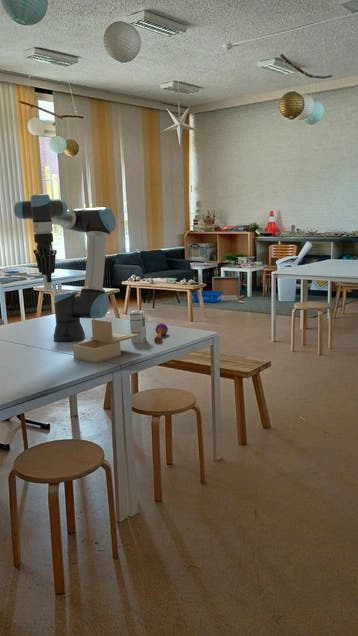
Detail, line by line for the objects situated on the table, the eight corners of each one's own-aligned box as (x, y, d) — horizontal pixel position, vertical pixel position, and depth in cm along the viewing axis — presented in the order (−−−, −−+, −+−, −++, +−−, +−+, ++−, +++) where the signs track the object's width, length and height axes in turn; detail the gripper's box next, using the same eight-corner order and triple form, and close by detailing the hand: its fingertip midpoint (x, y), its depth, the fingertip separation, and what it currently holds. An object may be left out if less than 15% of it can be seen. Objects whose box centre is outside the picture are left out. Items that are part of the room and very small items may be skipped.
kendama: (149, 335, 262) (154, 323, 281) (153, 347, 264) (157, 334, 283) (162, 332, 261) (166, 320, 281) (165, 344, 263) (169, 332, 282)
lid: (90, 339, 248) (89, 319, 246) (115, 332, 259) (114, 313, 257) (113, 343, 238) (112, 322, 237) (138, 336, 249) (137, 316, 248)
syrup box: (143, 343, 264) (141, 312, 261) (131, 343, 265) (129, 312, 263) (146, 340, 270) (144, 310, 267) (134, 340, 271) (132, 310, 268)
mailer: (73, 358, 241) (72, 344, 240) (98, 351, 252) (97, 338, 251) (95, 363, 232) (94, 349, 231) (120, 355, 243) (119, 342, 241)
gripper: (26, 233, 235) (31, 290, 240) (45, 233, 227) (50, 292, 231) (41, 232, 241) (46, 288, 245) (60, 232, 232) (65, 289, 237)
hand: (48, 290), depth 238 cm, fingers closed
